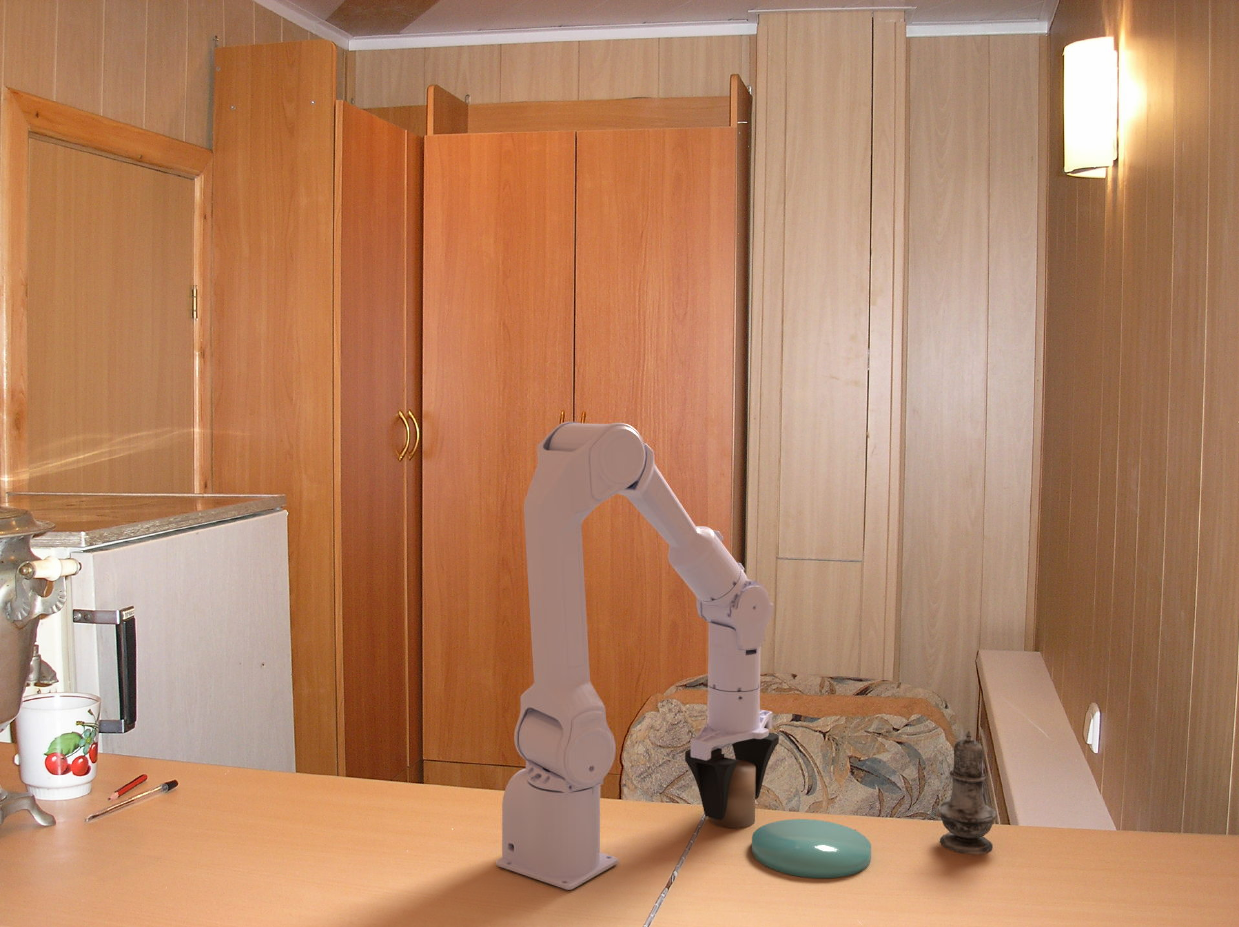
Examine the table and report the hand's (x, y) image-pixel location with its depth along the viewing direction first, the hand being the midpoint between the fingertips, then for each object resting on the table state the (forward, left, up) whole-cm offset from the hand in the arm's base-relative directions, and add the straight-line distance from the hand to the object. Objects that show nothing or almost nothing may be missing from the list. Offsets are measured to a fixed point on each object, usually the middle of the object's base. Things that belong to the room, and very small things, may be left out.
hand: (732, 806), depth 119 cm
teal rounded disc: (+11, -3, -1) cm, 11 cm away
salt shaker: (+23, +9, -2) cm, 25 cm away
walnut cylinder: (0, 0, -2) cm, 2 cm away
